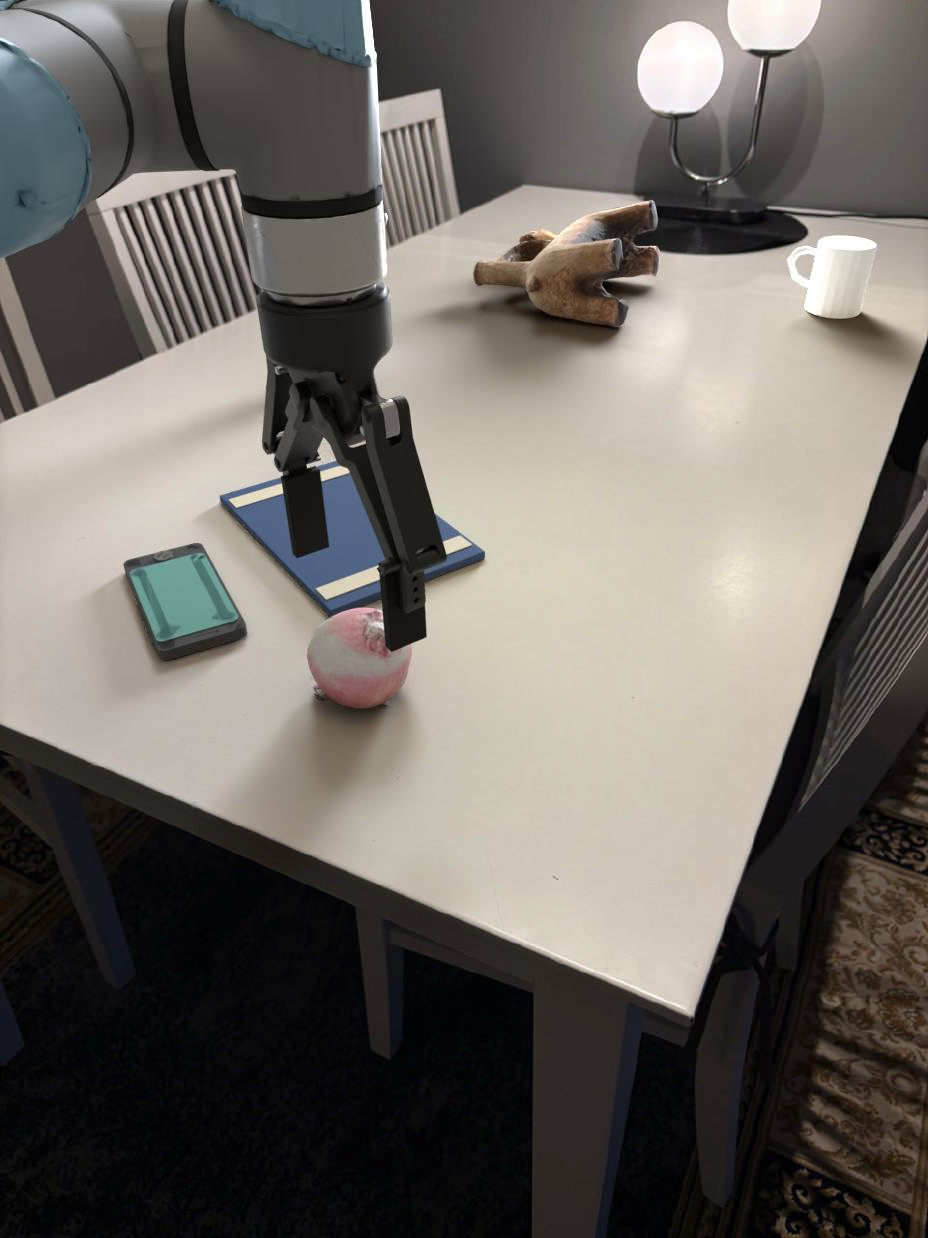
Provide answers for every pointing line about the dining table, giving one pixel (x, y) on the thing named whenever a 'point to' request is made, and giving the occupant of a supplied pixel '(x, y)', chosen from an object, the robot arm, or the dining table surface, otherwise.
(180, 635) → the smartphone
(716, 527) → the dining table surface
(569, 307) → the ceramic vessel
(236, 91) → the robot arm
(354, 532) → the towel
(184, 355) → the dining table surface
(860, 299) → the mug
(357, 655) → the onion
